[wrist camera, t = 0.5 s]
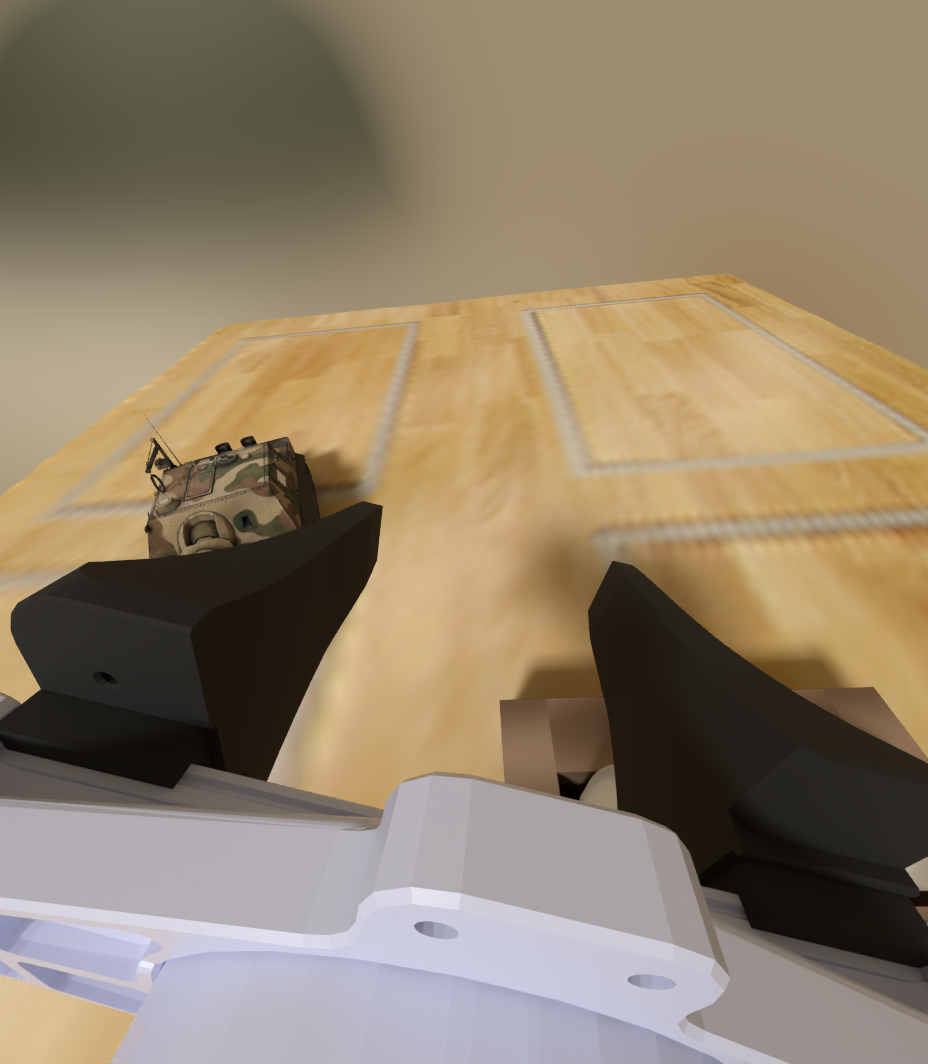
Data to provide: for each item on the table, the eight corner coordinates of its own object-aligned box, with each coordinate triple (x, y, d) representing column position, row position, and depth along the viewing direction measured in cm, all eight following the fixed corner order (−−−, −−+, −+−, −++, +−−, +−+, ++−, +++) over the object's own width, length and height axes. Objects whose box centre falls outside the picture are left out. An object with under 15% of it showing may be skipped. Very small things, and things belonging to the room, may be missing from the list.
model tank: (183, 658, 32) (18, 530, 21) (207, 501, 47) (118, 381, 36) (338, 602, 34) (260, 463, 24) (313, 471, 49) (259, 351, 39)
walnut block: (1014, 1031, 16) (1161, 1066, 12) (520, 1022, 17) (522, 1052, 13) (820, 720, 24) (873, 687, 20) (501, 729, 25) (499, 700, 22)
